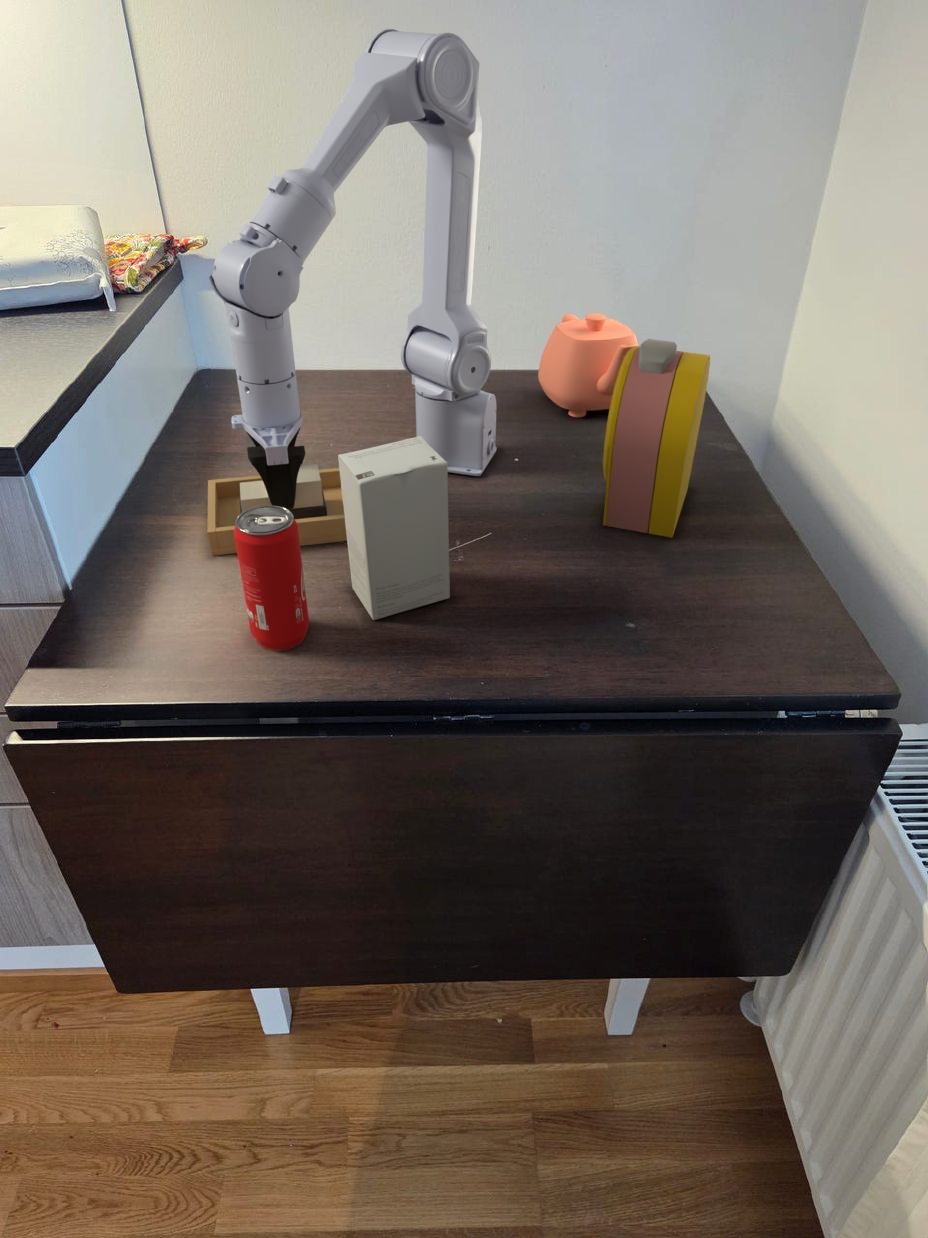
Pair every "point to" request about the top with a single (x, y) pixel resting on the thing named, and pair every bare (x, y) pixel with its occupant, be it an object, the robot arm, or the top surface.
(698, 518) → the top surface
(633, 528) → the alarm clock
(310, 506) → the two-tone beige block
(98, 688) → the top surface
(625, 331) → the teapot
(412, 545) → the cosmetic box
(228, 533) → the tray
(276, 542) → the beverage can
